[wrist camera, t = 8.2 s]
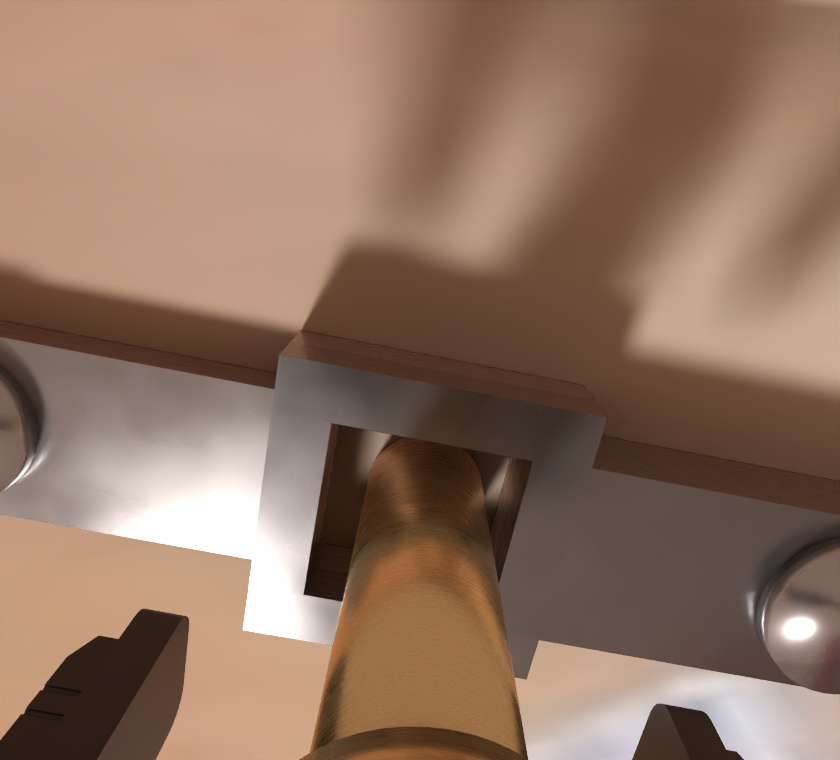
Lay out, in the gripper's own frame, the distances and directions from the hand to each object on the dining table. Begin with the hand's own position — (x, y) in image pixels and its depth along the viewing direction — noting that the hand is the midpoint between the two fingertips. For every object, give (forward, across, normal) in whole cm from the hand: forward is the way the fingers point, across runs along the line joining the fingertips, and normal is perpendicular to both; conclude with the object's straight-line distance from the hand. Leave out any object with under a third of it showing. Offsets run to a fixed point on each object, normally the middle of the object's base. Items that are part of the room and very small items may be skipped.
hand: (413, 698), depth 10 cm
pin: (+7, 0, 0) cm, 7 cm away
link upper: (+7, -5, 0) cm, 9 cm away
